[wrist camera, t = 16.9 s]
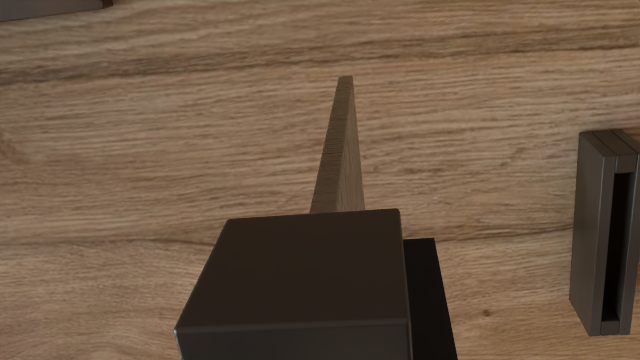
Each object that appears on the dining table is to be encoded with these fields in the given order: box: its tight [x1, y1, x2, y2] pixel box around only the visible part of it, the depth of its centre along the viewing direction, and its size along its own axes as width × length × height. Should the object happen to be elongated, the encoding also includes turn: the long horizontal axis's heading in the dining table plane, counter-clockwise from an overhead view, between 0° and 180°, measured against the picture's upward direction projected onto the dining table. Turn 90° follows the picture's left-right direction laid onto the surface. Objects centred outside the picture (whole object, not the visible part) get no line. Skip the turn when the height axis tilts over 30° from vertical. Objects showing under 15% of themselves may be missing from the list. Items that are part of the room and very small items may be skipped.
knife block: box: [569, 129, 640, 336], centre depth 31 cm, size 11×2×4 cm, turn 7°
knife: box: [174, 76, 413, 360], centre depth 12 cm, size 9×2×11 cm, turn 7°
